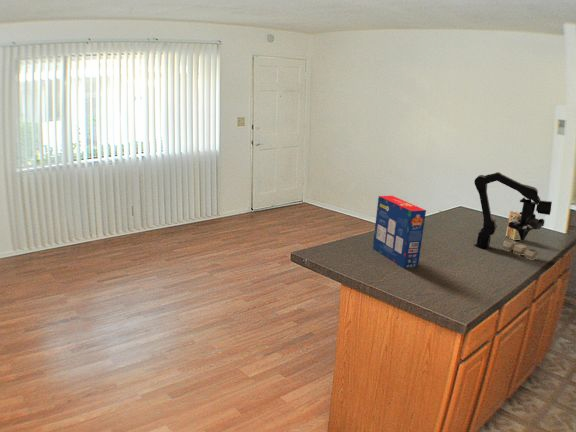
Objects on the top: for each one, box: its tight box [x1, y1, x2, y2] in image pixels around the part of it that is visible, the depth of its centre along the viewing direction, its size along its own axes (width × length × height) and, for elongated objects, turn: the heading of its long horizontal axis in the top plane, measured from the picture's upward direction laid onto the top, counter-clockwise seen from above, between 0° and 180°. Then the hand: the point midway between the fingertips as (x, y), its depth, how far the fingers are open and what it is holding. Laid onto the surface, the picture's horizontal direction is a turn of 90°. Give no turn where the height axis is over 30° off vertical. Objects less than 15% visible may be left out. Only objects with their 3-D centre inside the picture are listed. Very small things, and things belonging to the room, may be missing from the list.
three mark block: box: [523, 248, 540, 259], centre depth 263 cm, size 4×4×5 cm
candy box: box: [505, 210, 521, 241], centre depth 294 cm, size 9×4×15 cm, turn 9°
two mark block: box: [502, 239, 517, 252], centre depth 275 cm, size 4×4×5 cm
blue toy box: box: [372, 195, 427, 269], centre depth 249 cm, size 28×8×28 cm, turn 22°
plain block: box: [512, 244, 528, 255], centre depth 269 cm, size 4×4×4 cm
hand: (522, 240), depth 268 cm, fingers closed
